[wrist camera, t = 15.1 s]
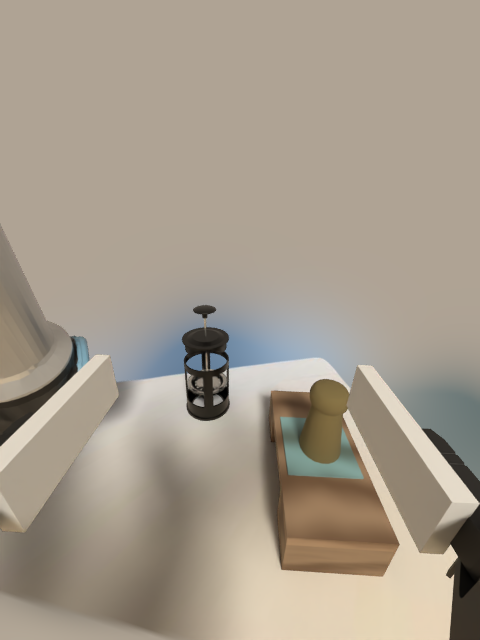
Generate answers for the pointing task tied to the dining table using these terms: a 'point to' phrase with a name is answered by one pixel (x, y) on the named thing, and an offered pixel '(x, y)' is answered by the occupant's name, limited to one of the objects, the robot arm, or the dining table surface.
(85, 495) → the dining table surface
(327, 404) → the cork
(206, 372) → the french press
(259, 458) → the dining table surface
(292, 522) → the wooden block
